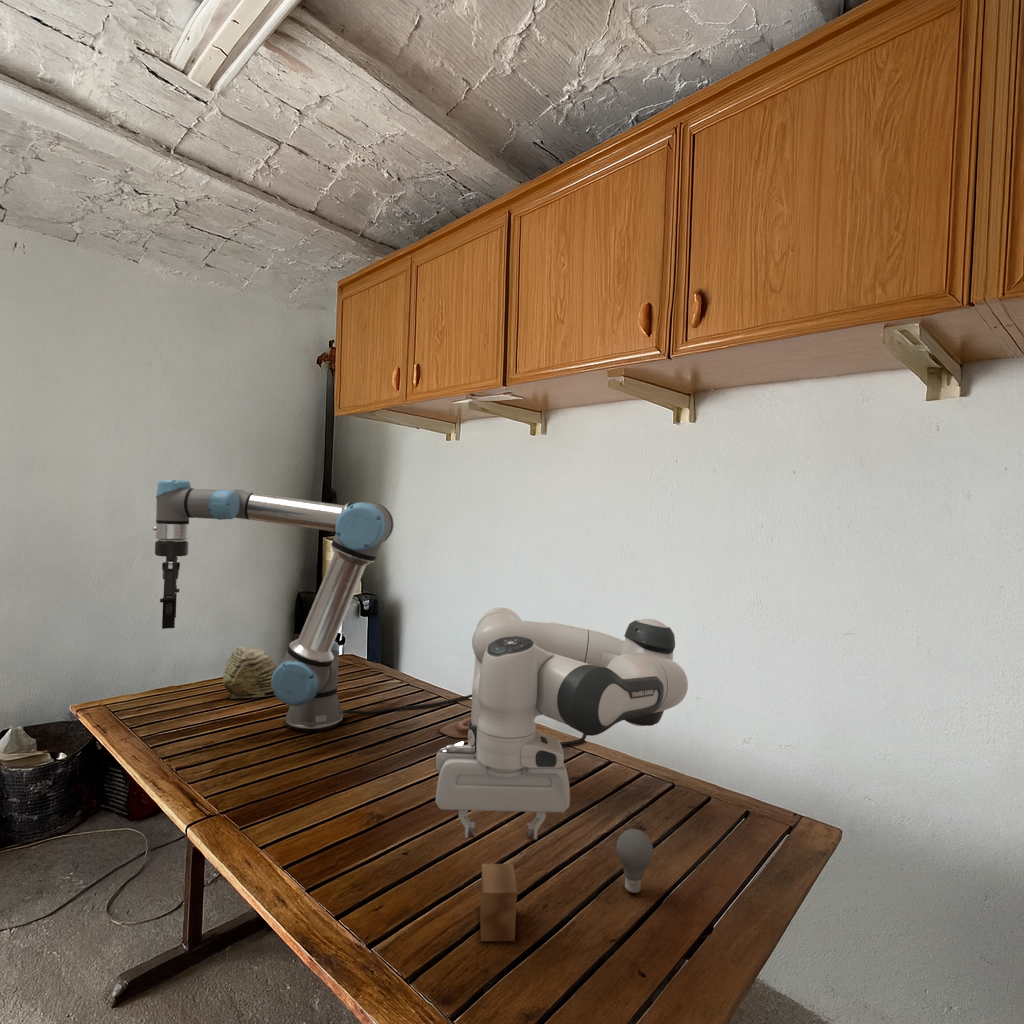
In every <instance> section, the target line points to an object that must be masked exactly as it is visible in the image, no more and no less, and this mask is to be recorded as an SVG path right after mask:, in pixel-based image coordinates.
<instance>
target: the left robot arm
mask: <svg viewBox="0 0 1024 1024" xmlns="http://www.w3.org/2000/svg"><path fill="white" fill-rule="evenodd" d="M155 499H156V510H155V511H156V517H155V519H156V520H155V525H156V526H153V527H152V531H155V539H156V541H155V542H154V555H155V556H158V557H166V558H165V561H163V562H162V564H161V571H162V579H163V595H162V598H159V603H162V613H161V615H162V617H161V629H163V630H165V629H166V630H167V629H175V628H176V627H175V624H176V618H177V595H178V594H177V593H180V588H178V586H177V580H178V579H179V571H180V569H181V562H180V561H178V560H179V558H178V557H186V556H188V554H189V542H188V539H189V538H190V519H210V520H211V519H212V520H220V521H222V520H233V519H241V520H248V521H249V520H250V521H257V522H264V523H272V524H279V525H284V526H285V525H286V526H291V527H292V526H293V527H299V528H304V529H305V528H306V529H311V530H313V529H314V530H320V531H325V532H326V531H327V532H333V533H335V535H334V537H333V538H332V542H331V544H330V547H331V549H332V552H333V555H332V558H331V560H330V562H329V564H328V567H327V569H326V572H325V574H324V576H323V579H322V581H321V584H320V586H319V588H318V591H317V594H316V595H315V599H314V601H313V603H312V605H311V608H310V610H309V613H308V615H307V618H306V620H305V623H304V625H303V627H302V630H301V631H300V634H299V636H298V638H297V639H295V640H293V641H291V642H290V643H289V644H288V647H287V649H286V652H285V654H284V657H283V659H282V661H281V663H279V664H278V665H277V666H276V669H275V671H274V672H273V675H272V678H271V687H272V690H273V692H274V694H275V695H274V696H275V697H276V698H277V700H279V701H280V702H281V703H283V704H284V705H287V706H289V708H288V711H287V713H286V715H285V726H286V728H287V729H289V730H291V731H294V732H295V731H296V732H301V733H316V732H325V731H329V730H332V729H335V728H337V727H339V726H340V725H342V723H343V722H344V714H349V715H350V714H351V715H352V714H353V715H355V714H357V715H358V714H359V715H372V714H373V715H374V714H380V713H386V712H390V711H398V710H399V711H400V710H409V709H412V710H413V709H422V708H429V707H435V706H442V705H446V704H450V703H454V702H458V701H463V700H467V699H472V693H471V694H468V695H465V696H460V697H455V698H451V699H448V700H444V701H443V700H442V701H437V702H431V703H425V704H417V705H416V704H415V705H402V706H401V705H400V706H393V707H387V708H381V709H377V710H376V709H375V710H347V709H346V710H344V709H342V706H341V702H340V699H339V695H338V682H339V662H340V661H339V660H340V659H339V657H340V645H339V643H338V642H337V641H336V638H337V636H338V633H339V631H340V629H341V627H342V624H343V622H344V619H345V617H346V615H347V613H348V610H349V608H350V605H351V604H352V603H351V602H352V600H353V598H354V596H355V593H356V590H357V588H358V586H359V584H360V581H361V579H362V577H363V574H364V572H365V569H366V566H368V565H370V564H373V563H374V562H375V560H376V558H377V556H378V553H379V551H380V549H381V546H382V544H383V543H384V542H386V541H387V540H388V539H389V538H390V537H391V536H392V533H393V530H394V518H393V515H392V513H391V512H390V511H389V510H388V508H386V507H385V505H382V504H380V503H378V502H367V501H361V502H347V503H345V504H336V503H330V502H324V501H323V502H322V501H315V500H309V499H302V498H294V497H286V496H280V495H272V494H264V493H259V492H250V491H245V490H243V489H233V490H232V489H211V488H194V487H193V488H192V486H191V482H190V481H189V480H182V479H181V480H179V479H178V480H177V479H161V480H159V481H158V483H157V489H156V496H155Z"/></svg>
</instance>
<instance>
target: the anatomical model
mask: <svg viewBox="0 0 1024 1024" xmlns="http://www.w3.org/2000/svg"><path fill="white" fill-rule="evenodd" d="M470 719H471V716H470V717H467V718H464V719H461V720H458V721H456V722H451V723H448V724H446V725H444V726H442V727H441V728H440V729H439V733H441V734H442V735H445V736H448V737H452V738H456V739H465V738H466V739H468V730H469V720H470Z"/></svg>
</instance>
